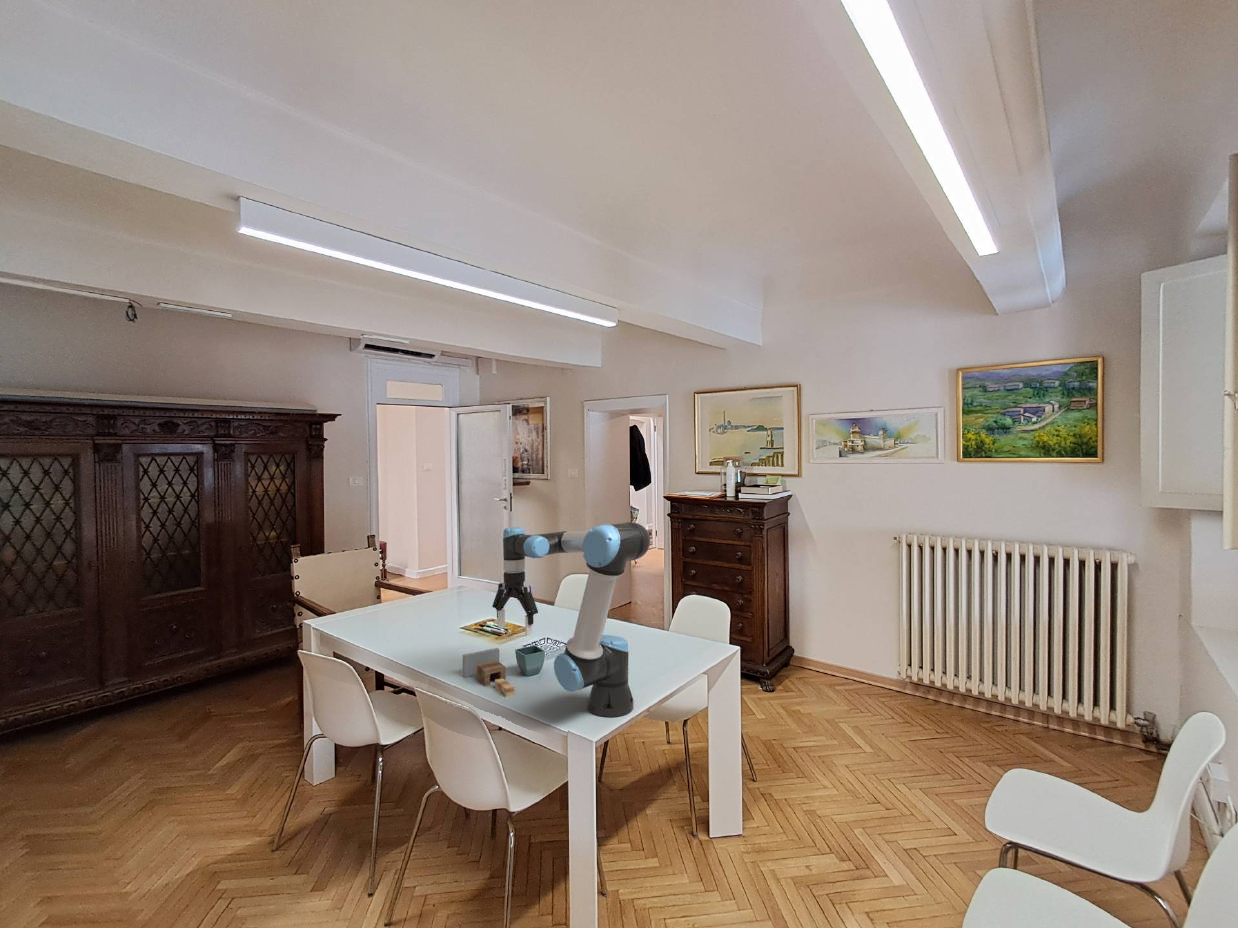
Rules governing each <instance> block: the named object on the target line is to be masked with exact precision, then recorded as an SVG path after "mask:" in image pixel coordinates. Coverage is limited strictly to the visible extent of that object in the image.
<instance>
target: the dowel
mask: <svg viewBox="0 0 1238 928" xmlns="http://www.w3.org/2000/svg"><path fill="white" fill-rule="evenodd" d="M494 688H495V689H496V690H498V691H499V692H500V693H501V694H502V695H504V697H506V698H507V697H510V696H515V686H513V684H511V683H510V682H509V681H507V680H504V679H503V678H501V679H494Z"/></svg>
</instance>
